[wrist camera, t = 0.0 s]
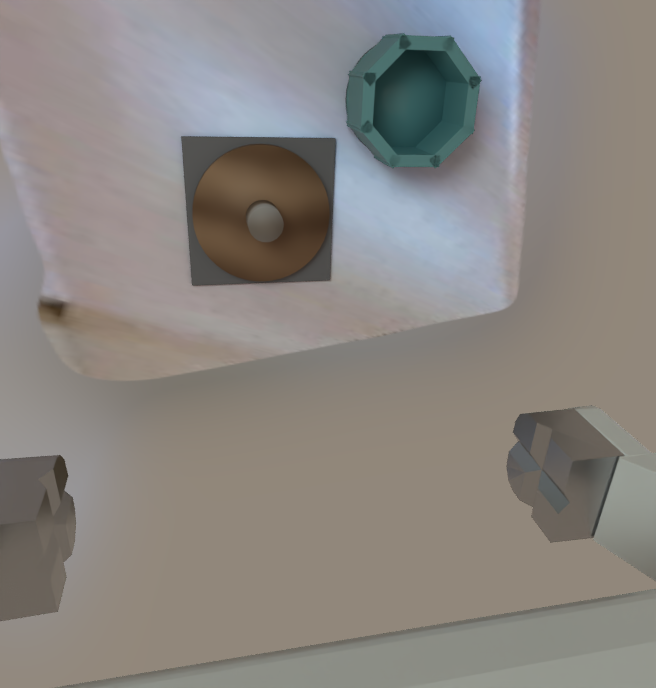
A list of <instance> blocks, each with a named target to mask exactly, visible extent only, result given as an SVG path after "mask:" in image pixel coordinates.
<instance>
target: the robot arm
mask: <svg viewBox="0 0 656 688" xmlns="http://www.w3.org/2000/svg"><path fill="white" fill-rule="evenodd" d="M513 433H514V435H515V436H516V438H517V440H518V442H517V443H516V444H515V446H513V448H512V449H511V450H510V451H509V454H508V460H507V473H508V480H509V483H510V485H511V488H512V490H513V492H514V493H515V494H516V496H517V497H518V499H519V500H520V501H522V502H524V503H526V504H528V505H530V506H532V507H533V509H532V518H533V519H534V521H535V522H536V523H537V525H538V526H539V527H540V529H541V530H542V532H543V533H544V534H545V536H546V537H547V538H548V540H549V541H550V542H560V541H569V540H578V539H587V538H594V539H593V540H594V541H595V542H597V543H598V544H600V545H602V546H603V547H604V548H606V549H607V550H609V551H610V552H612V553H613V554H615V555H617V556H618V557H620V558H621V559H623V560H624V561H626V562H627V563H629V564H631V565H632V566H634V567H635V568H637V569H638V570H639V571H641V572H642V573H644V574H645V575H647V576H649V577H650V578H652V579H653V580H654V581H656V453H651V452H650V451H649V450H648V449H646V448H645V447H644V446H643V445H642V444H641V443H639V442H638V441H637V440H636V439H635V438H634V437H633V436H631V435H630V434H629V433H628V432H627V431H626V430H625V429H623V428H622V427H621V426H620V425H619V424H618V423H616V422H615V421H614V420H613V419H612V418H611V417H610V416H608V415H607V414H606V413H605V412H604V411H603V410H601V409H600V408H598V407H595V406H592V405H591V406H583V407H575V408H568V409H564V410H554V411H544V412H535V413H525V414H520V415H519V417H518V418H517V420H516V421H515V426H514V430H513ZM67 478H68V473H67V468H66V465H65V460H64V459H63V457H62V456H61V455H54V456H40V457H26V458H12V459H0V621H5V620H10V619H17V618H22V617H28V616H34V615H40V614H46V613H52V612H58V609H59V604H60V601H61V597H62V593H63V589H64V584H65V581H66V572H65V568H64V563H63V562H64V561H66V560H67V559H68V558H69V557H70V556H71V555H72V551H73V547H74V542H75V530H76V518H75V507H74V502H73V497H72V496H70V495H69V494H68V493H67V492H65V491H64V489H65V485H66V482H67ZM55 688H656V589H652V590H647V591H641V592H635V593H628V594H622V595H616V596H610V597H604V598H598V599H591V600H585V601H579V602H573V603H567V604H561V605H554V606H548V607H542V608H536V609H530V610H523V611H517V612H511V613H505V614H499V615H492V616H486V617H480V618H474V619H468V620H462V621H456V622H450V623H444V624H437V625H432V626H425V627H420V628H413V629H407V630H401V631H396V632H389V633H383V634H377V635H371V636H365V637H359V638H353V639H347V640H341V641H335V642H329V643H322V644H316V645H310V646H305V647H298V648H292V649H286V650H281V651H274V652H268V653H262V654H256V655H250V656H244V657H238V658H232V659H225V660H219V661H213V662H207V663H201V664H196V665H190V666H184V667H177V668H171V669H165V670H158V671H153V672H146V673H140V674H135V675H128V676H122V677H116V678H110V679H104V680H98V681H92V682H85V683H79V684H73V685H67V686H62V687H55Z"/></svg>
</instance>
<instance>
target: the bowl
mask: <svg viewBox="0 0 656 688" xmlns="http://www.w3.org/2000/svg"><path fill="white" fill-rule="evenodd" d="M348 75H349V82H348V86H347V90H346V111H347V121H346V123H347V126H348V127H350V128H351V129H352V130H353V131H354V133H355V135H356V136H357V137H358V139H359V140H360V141H361V142H362V143H363V144H364V145H365V146H366V147H367V148H368V149H369V150H370V151H371V152H372V154H373V155H374V158H376V159H377V160H379V161H381V162H382V163H384V164H386V165H387V166H389V167H392V168H394V167H434V168H436V167H439V165H440V164H441V163H442V162H443V161H444V160H445V159H446V158H447V157H448V156H449V155H450V154H451V153H452V152H453V151H454V150H455V149H456V148H457V147H458V146H459V145H460V144H461V143H462V142H463V141H464V140H465V139H466V138H467V137H468V136H469V135H470V134H473V132H474V131H475V130H474V122H475V115H476V108H477V101H478V94H479V86H480V82H481V81H482V80H481V77H480V76H478V75H477V73H476V72H475V70H474V69H473V67H472V66H471V64H470V63H469V62H468V60H467V59H466V57H465V56H464V54H463V53H462V51H461V50H460V48H459V47H458V45H457V44H456V43H455V41H454V38H452V37H451V36H435V37H431V36H411V35H405V34H404V33H402V34H390V35H385V36H382V40H381V41H380V42H379V43H378V44H377V45H375V46H374V47H373V48H371V49H370V50H369V51H367V52H366V53H365V54H364V55H363V56H362V58H361V59H360V60H359V61H358V63H357V64H356V66H355V67H354V69H353V70H352V71H349V74H348Z"/></svg>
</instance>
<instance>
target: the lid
mask: <svg viewBox="0 0 656 688" xmlns="http://www.w3.org/2000/svg"><path fill="white" fill-rule="evenodd" d="M329 217H330V212H329V202H328V197H327V193H326V190H325V188H324V185H323V183H322V181H321V180H320V178H319V176H318V175H317V173H316V172H315V171H314V170H313V168H312V167H311V166H310V165H309V164H308V163H307V162H306V161H305V160H304V159H302V158H301V157H299V156H298V155H297V154H295V153H293V152H291V151H289V150H288V149H285V148H282V147H279V146H275V145H271V144H249V145H244V146H241V147H238V148H235V149H232V150H230V151H228V152H226V153H225V154H223V155H222V156H220V157H219V158H217V159H216V160H215V161H214V162H213V163H212V164H211V165H210V166H209V167H208V169H207V170H206V171H205V172H204V174H203V176H202V177H201V179H200V181H199V183H198V185H197V188H196V191H195V195H194V199H193V207H192V218H193V225H194V230H195V233H196V236H197V239H198V241H199V244H200V245H201V247H202V249H203V250H204V252H205V253H206V255H207V256H208V257H209V258H210V259H211V260H212V261H213V262H214V263H215V264H216V265H217V266H218V267H220V268H221V269H222V270H224V271H226V272H227V273H229V274H231V275H233V276H236V277H238V278H241V279H245V280H250V281H272V280H277V279H281V278H284V277H286V276H289V275H291V274H293V273H295V272H297V271H298V270H300V269H301V268H303V267H304V266H305V265H306V264H307V263H308V262H309V261H310V260H311V259H312V258H313V257H314V256H315V255H316V253H317V252H318V250H319V249H320V247H321V245H322V243H323V241H324V239H325V236H326V233H327V230H328V225H329Z"/></svg>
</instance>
